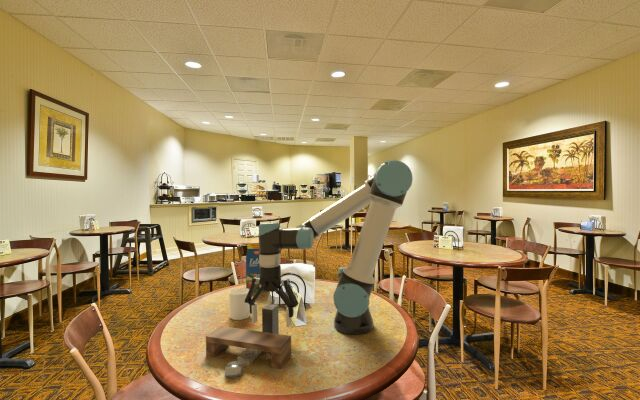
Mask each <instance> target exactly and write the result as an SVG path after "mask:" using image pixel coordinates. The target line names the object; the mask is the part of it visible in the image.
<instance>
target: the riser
mask: <svg viewBox="0 0 640 400" xmlns="http://www.w3.org/2000/svg"><path fill="white" fill-rule="evenodd" d="M229 346H230V347H236V348H243V349H246V348H247V349H253V350H260V351H262V352H266V353H267V352H268V353H270V354H271V355H270V356H271V359H270V360H271V368H274V369H279V370H280V369H282V368H283V366H285V364H286V363H287V361H289V358H290V357H291V356H292V335H287V334H281V333H279V334H274V333H267V332H262V331H260V330H252V329H246V328H245V329H244V328H238V327H231V326H223V325H220V326H219V327H218V328H216V329H214V330H213V331H211V332H210V333H209V334H207V335H206V336H205V356H206V357H207V356H208V357H213V358H215V357H216V356H217V355H218V354H220V353H221V352H222V351H223V350H224V349H226V348H227V347H229Z"/></svg>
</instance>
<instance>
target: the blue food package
mask: <svg viewBox="0 0 640 400" xmlns="http://www.w3.org/2000/svg"><path fill="white" fill-rule="evenodd" d="M246 245H247V246H246V248H247V249H246V253H245V284H246V285H245V288H246V289H250V287H251V285H252V279H253V278H255V277H258V278H260V266H261V265H259V243H247V244H246ZM260 287H261V284H260V283H258V284H257V287H256V289H255V291H254V292H258V290H259V289H260ZM263 292H266V291H265V290H264V291H263Z"/></svg>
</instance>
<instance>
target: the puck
mask: <svg viewBox="0 0 640 400" xmlns="http://www.w3.org/2000/svg"><path fill="white" fill-rule="evenodd" d="M224 374H225V375H224V376H225V377H226V378H227V379H232V380H233V379H238V378H240V377H242V375H243V374H244V364H243V363H242V362H240V361H238V360H233V361H230V362H228V363H227V364H225V366H224Z"/></svg>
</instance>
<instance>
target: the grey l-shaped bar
mask: <svg viewBox="0 0 640 400" xmlns="http://www.w3.org/2000/svg"><path fill="white" fill-rule="evenodd" d="M261 320H262V321H261V324H262V325H261V327H262V329H261V332H267V333H274V334H280V332H279V331H280V330H279V304H273V303H272V304H271V303H267V304H266V305H265V306H264V307H262V308H261ZM262 353H263V351H260V350H253V349H247V348H244V350H243V351H242V352H241V353H240V354H238V356H237V361H240V362H242V363H243V365H247V366H250V365H251V364H252V363H253V362H254V361H255V360H256V359H257V358H258V357H259V356H260V354H262Z"/></svg>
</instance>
